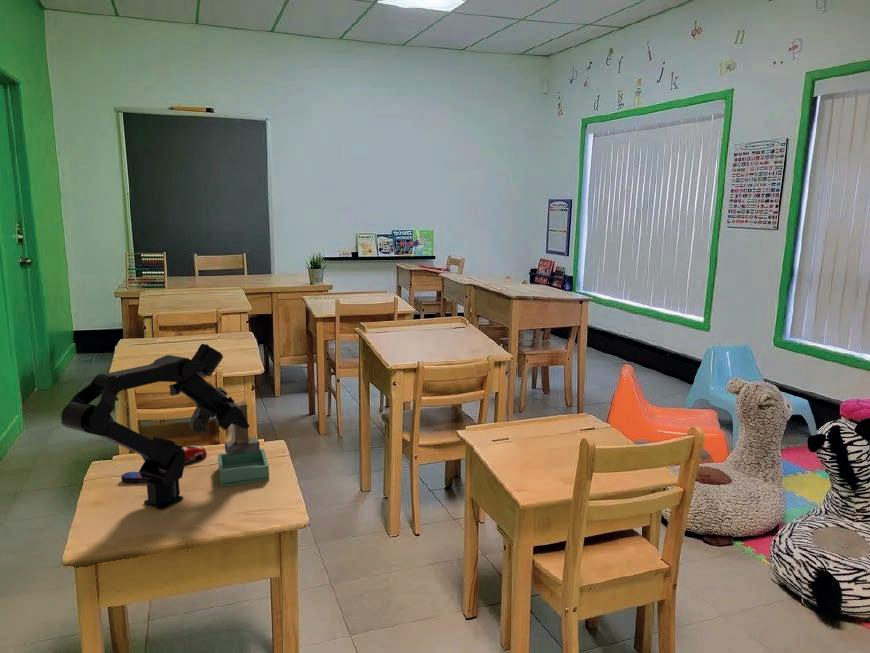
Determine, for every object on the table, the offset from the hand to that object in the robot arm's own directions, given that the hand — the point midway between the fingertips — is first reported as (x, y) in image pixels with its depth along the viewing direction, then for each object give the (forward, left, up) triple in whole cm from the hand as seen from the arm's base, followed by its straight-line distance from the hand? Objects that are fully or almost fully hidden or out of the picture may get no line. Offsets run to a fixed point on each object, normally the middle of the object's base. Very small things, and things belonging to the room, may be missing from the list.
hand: (246, 425), depth 169 cm
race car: (-4, +21, -14) cm, 25 cm away
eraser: (-17, +20, -14) cm, 30 cm away
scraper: (-1, +1, -7) cm, 7 cm away
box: (-1, +1, -13) cm, 14 cm away
